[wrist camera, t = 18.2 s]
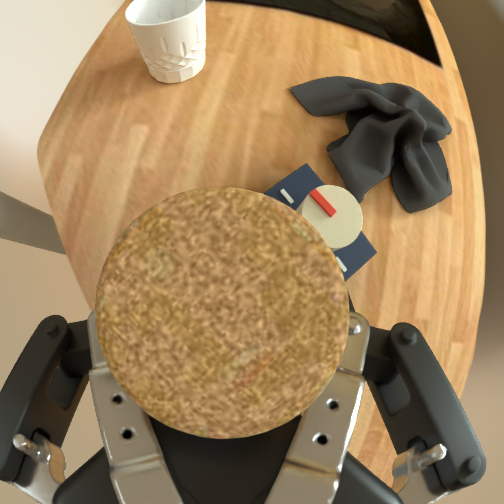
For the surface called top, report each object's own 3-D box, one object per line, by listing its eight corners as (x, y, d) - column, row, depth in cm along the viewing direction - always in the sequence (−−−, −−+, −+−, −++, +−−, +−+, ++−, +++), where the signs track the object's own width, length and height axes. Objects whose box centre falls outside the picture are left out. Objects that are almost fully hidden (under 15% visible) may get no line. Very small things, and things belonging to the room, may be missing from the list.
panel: (231, 364, 25) (231, 373, 22) (163, 276, 26) (154, 274, 23) (368, 251, 27) (383, 246, 24) (305, 170, 28) (313, 157, 25)
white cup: (216, 77, 29) (213, 12, 19) (149, 96, 28) (125, 35, 18) (202, 38, 30) (197, -21, 20) (142, 54, 29) (124, -2, 19)
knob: (348, 232, 24) (376, 218, 19) (313, 267, 24) (335, 261, 18) (313, 194, 25) (333, 171, 19) (277, 227, 24) (288, 210, 19)
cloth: (442, 102, 31) (465, 80, 25) (460, 227, 29) (495, 216, 22) (292, 56, 30) (301, 21, 24) (281, 191, 28) (294, 166, 21)
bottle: (250, 241, 20) (285, 114, 5) (290, 317, 20) (418, 371, 5) (174, 279, 20) (33, 244, 5) (213, 356, 19) (163, 494, 4)
